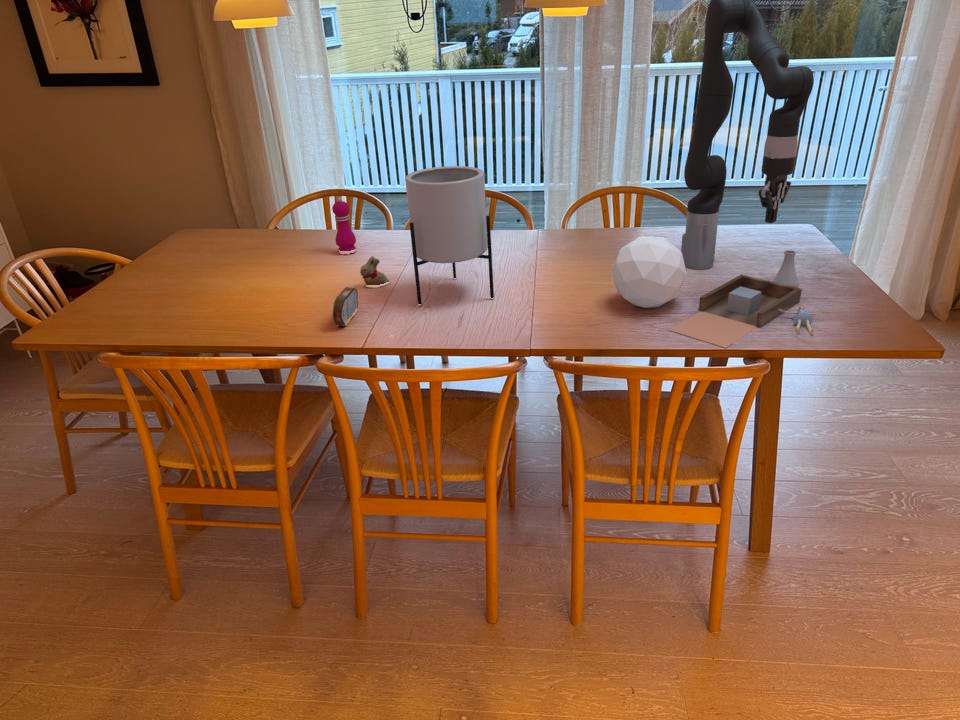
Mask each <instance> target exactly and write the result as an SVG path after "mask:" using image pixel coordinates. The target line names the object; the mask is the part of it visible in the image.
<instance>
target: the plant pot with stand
mask: <svg viewBox="0 0 960 720" xmlns="http://www.w3.org/2000/svg"><path fill="white" fill-rule="evenodd" d="M404 182H405V188H406V198H407V205H408V215H409V232H410V241H411V242H410V243H411V249H412V259H413V260H412V261H413V270H414V277H415V287H416V297H417V305H418V304H422V293H421V284H420V275H419V266H421V265H425V264H427V263H434V264H452V265H451V266H452V274H453V275H452V276H453V279H454V278H456V279H457V270H456V269H457V268H456V263H462V262H466V261H471V260H473V259H485V260H486V259H487V260H488V274H489V275H488V277H489V279H488V281H489V296H490V297H491V298H493V297H494V298H495V293H494V273H493V272H494V269H493V251H492V236H491V235H492V233H491V232H492V231H491V217H490V216H491V215H487V208H486V207H487V206H486V205H487V203H486V187H485V186H486V185H485V183H486V182H485V172H484V170H483V169H481V168H478V167H474V166H467V165H466V166H465V165H446V166H445V165H444V166H434V167H429V168H423V169H419V170H414V171H413V172H410V173H408V174H407V175H406V176H405V181H404ZM486 251H487V254H485V252H486ZM418 259H419V261H418ZM422 305H423V304H422Z"/></svg>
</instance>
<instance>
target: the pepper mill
mask: <svg viewBox="0 0 960 720" xmlns="http://www.w3.org/2000/svg"><path fill="white" fill-rule="evenodd" d="M350 208H351V207H350V205H349V204H348V202H346V201H345V200H344V201H343V197H340V196H338V197H337V198H336V202H334V204H333V205H332V213H333V214H334V215H335V216H334V218H335V221H336V223H337V232H336V235H335V245H336V246H337V247H338V248H337V251H338V250H340V251H351V250H354V249H356V250H357V248H356V246H355V244H356V243H357V238H356V235H355V233H354V231H353V230H352V229H351V226H350V222H349V220H350V214H349V213H350V211H351V209H350Z"/></svg>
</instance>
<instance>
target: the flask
mask: <svg viewBox="0 0 960 720" xmlns="http://www.w3.org/2000/svg"><path fill="white" fill-rule="evenodd" d="M783 254H784V257H783V261H782V263H781V266H780V268H779V270H778V272H777V273H776V275H775V277H774V279H773V280H772V282H775V283H780V284H784V285H788V286H793V287H797V288H799V285H800V284H799V280H798V277H797V276H798V275H797V271H796V267H795V256H796V255H797V251H796V250H791V249H786V250H785V249H784V251H783Z"/></svg>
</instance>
